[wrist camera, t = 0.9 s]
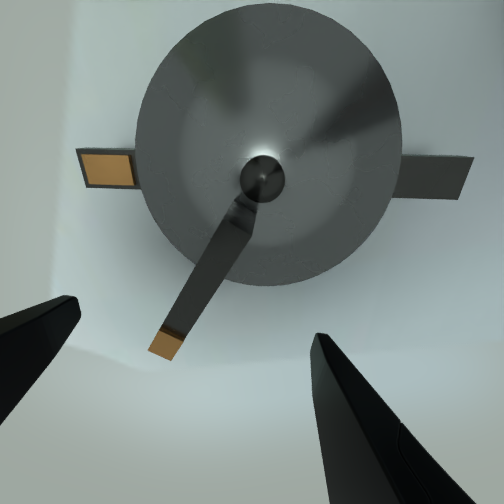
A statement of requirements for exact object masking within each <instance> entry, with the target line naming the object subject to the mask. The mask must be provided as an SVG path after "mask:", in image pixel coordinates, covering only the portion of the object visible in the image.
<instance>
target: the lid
mask: <svg viewBox="0 0 504 504" xmlns="http://www.w3.org/2000/svg"><path fill="white" fill-rule="evenodd" d="M401 152H402V132H401V121H400V116H399V111H398V106H397V102H396V99H395V96H394V93H393V91H392V88H391V85H390V82H389V81H388V79H387V77H386V75H385V73H384V71H383V69H382V67H381V65H380V64H379V62H378V61H377V60H376V58H375V57H374V56H373V54H372V53H371V52H370V50H369V49H368V48H367V47H366V46H365V45H364V44H363V43H362V42H361V41H360V40H359V39H358V38H357V37H356V36H355V35H354V34H353V33H352V32H351V31H349V30H348V29H346V28H345V27H343V26H342V25H340V24H339V23H337V22H336V21H334V20H333V19H331V18H329V17H327V16H324V15H322V14H320V13H318V12H315V11H313V10H310V9H306V8H302V7H298V6H294V5H288V4H275V3H265V4H255V5H246V6H243V7H239V8H236V9H232V10H229V11H225V12H223V13H221V14H219V15H217V16H215V17H213V18H211V19H209V20H207V21H205V22H204V23H202V24H201V25H199V26H198V27H196V28H195V29H193V30H192V31H191V32H189V33H188V34H187V35H186V36H185V37H184V38H183V39H182V40H180V41H179V42H178V43H177V44H176V45H175V46H174V47H173V48H172V50H171V51H170V52H169V53H168V55H167V56H166V57H165V59H164V60H163V61H162V62H161V64H160V65H159V67H158V69H157V71H156V72H155V74H154V76H153V78H152V79H151V81H150V83H149V86H148V88H147V91H146V93H145V96H144V98H143V101H142V105H141V108H140V112H139V116H138V121H137V129H136V138H135V157H136V165H137V173H138V178H139V182H140V186H141V190H142V193H143V195H144V198H145V201H146V203H147V206H148V208H149V210H150V212H151V214H152V216H153V218H154V220H155V222H156V223H157V225H158V226H159V228H160V229H161V231H162V232H163V234H164V235H165V236H166V237H167V238H168V240H169V241H170V242H171V243H172V244H173V245H174V246H175V247H176V248H177V249H178V250H179V251H180V252H181V253H182V254H183V255H184V256H185V257H187V258H188V259H189V260H191V261H192V262H193V263H194V264H196V266H195V268H194V270H193V272H192V273H191V275H190V277H189V279H188V280H187V282H186V284H185V286H184V287H183V289H182V291H181V293H180V294H179V296H178V298H177V300H176V301H175V303H174V305H173V307H172V308H171V310H170V312H169V314H168V315H167V317H166V319H165V321H164V322H163V324H162V326H161V328H160V329H159V331H158V333H157V335H156V336H155V338H154V340H153V342H152V343H151V345H150V347H149V349H148V351H150V352H152V353H154V354H157V355H159V356H161V357H163V358H165V359H168V360H170V361H171V360H172V359H173V357H174V356H175V354H176V353H177V351H178V350H179V348H180V347H181V345H182V343H183V342H184V340H185V338H186V336H187V335H188V333H189V331H190V330H191V328H192V327H193V325H194V324H195V322H196V321H197V319H198V318H199V316H200V315H201V313H202V312H203V310H204V309H205V307H206V306H207V304H208V303H209V301H210V299H211V298H212V296H213V295H214V293H215V292H216V290H217V289H218V287H219V286H220V284H221V283H222V281H223V280H224V279H227V280H230V281H233V282H237V283H242V284H247V285H256V286H277V285H286V284H291V283H296V282H300V281H303V280H306V279H309V278H312V277H315V276H317V275H319V274H321V273H323V272H325V271H328V270H329V269H331V268H332V267H334V266H336V265H337V264H339V263H341V262H342V261H343V260H344V259H346V258H347V257H348V256H350V255H351V254H352V253H353V252H354V251H355V250H356V249H357V248H358V247H359V246H360V245H361V244H362V243H363V242H364V241H365V240H366V239H367V238H368V236H369V235H370V234H371V233H372V231H373V230H374V229H375V227H376V226H377V224H378V223H379V221H380V219H381V218H382V216H383V215H384V213H385V211H386V208H387V206H388V204H389V202H390V200H391V198H392V195H393V192H394V189H395V186H396V183H397V179H398V174H399V169H400V164H401Z"/></svg>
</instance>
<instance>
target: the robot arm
mask: <svg viewBox="0 0 504 504" xmlns="http://www.w3.org/2000/svg"><path fill="white" fill-rule="evenodd" d="M80 318H81V310H80V306H79V302H78V299H77V298H76V297H75V296H68V295H63V296H60V297H57V298H55V299H52V300H49V301H46V302H44V303H41V304H38V305H36V306H33V307H30V308H27V309H25V310H22V311H19V312H17V313H14V314H11V315H8V316H6V317H3V318H0V425H1V424H2V423H3V421H4V420H5V419H6V417H7V416H8V415H9V414H10V412H11V411H12V410H13V409H14V408H15V406H16V405H17V404H18V403H19V401H20V400H21V399H22V398H23V396H24V395H25V394H26V393H27V391H28V390H29V389H30V388H31V386H32V385H33V384H34V383H35V381H36V380H37V379H38V378H39V376H40V375H41V374H42V373H43V371H44V370H45V369H46V368H47V366H48V365H49V364H50V363H51V361H52V360H53V359H54V357H55V356H56V355H57V353H58V352H59V350H60V349H61V347H62V346H63V344H64V343H65V341H66V340H67V338H68V337H69V335H70V334H71V332H72V331H73V329H74V328H75V326H76V325H77V323H78V322H79V320H80ZM310 360H311V377H312V378H311V379H312V396H313V403H314V409H315V416H316V421H317V427H318V434H319V440H320V446H321V453H322V458H323V465H324V471H325V477H326V483H327V489H328V495H329V502H330V504H476V503H475V502H474V501H473V500H472V499H471V498H470V497H469V496H468V495H467V494H466V493H465V491H463V490H462V488H461V487H460V486H459V485H458V484H457V483H456V482H455V481H454V480H453V479H452V478H451V477H450V476H449V475H448V474H447V472H446V471H444V469H443V468H442V467H441V466H440V465H439V464H438V463H437V462H436V461H435V460H434V458H432V456H431V455H430V454H429V453H428V452H427V451H426V450H425V448H424V447H423V446H422V445H421V444H420V443H419V442H418V441H417V439H416V438H415V437H414V436H413V435H412V434H411V432H410V431H409V430H408V429H407V428H406V426H405V425H404V424H403V423H401V421H400V419H399V418H398V417H397V416H396V415H395V413H394V412H393V411H392V410H391V409H390V408H389V406H388V405H387V404H386V403H385V402H384V400H383V399H382V398H381V397H380V396H379V395H378V393H377V392H376V391H375V390H374V388H373V387H372V386H371V385H370V384H369V383H368V381H367V380H366V379H365V378H364V377H363V375H362V374H361V373H360V372H359V371H358V369H357V368H356V367H355V366H354V365H353V364H352V362H351V361H350V360H349V359H348V358H347V356H346V355H345V354H344V353H343V352H342V350H341V349H340V348H339V347H338V346H337V345H336V343H335V342H334V341H333V340H332V339H331V337H330V336H329V335H328V334H324V333H316V334H315V337H314V340H313V343H312V346H311V350H310Z"/></svg>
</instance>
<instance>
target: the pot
mask: <svg viewBox="0 0 504 504" xmlns="http://www.w3.org/2000/svg"><path fill="white" fill-rule="evenodd" d="M76 153H77V156H78V160H79V163H80V167H81V170H82V174H83V178H84V181H85V185H86V188H113V189H141V186H140V182H139V178H138V173H137V165H136V157H135V149H132V148H77V149H76ZM473 160H474V157H467V156H453V155H407V154H401V164H400V169H399V174H398V179H397V183H396V186H395V189H394V192H393V195H392V198H418V199H449V200H458V198H459V196H460V193H461V190H462V188H463V185H464V183H465V180H466V178H467V175H468V172H469V170H470V167H471V165H472V162H473Z"/></svg>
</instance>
